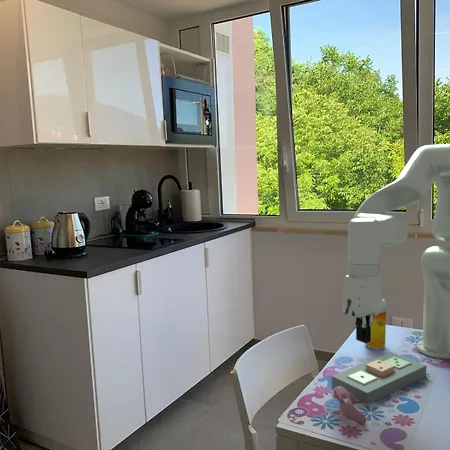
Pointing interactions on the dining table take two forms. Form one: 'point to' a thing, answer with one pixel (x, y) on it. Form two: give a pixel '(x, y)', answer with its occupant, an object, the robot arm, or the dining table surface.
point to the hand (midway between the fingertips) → (363, 340)
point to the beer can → (378, 329)
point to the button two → (380, 368)
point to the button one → (362, 378)
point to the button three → (397, 363)
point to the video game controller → (348, 405)
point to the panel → (379, 379)
